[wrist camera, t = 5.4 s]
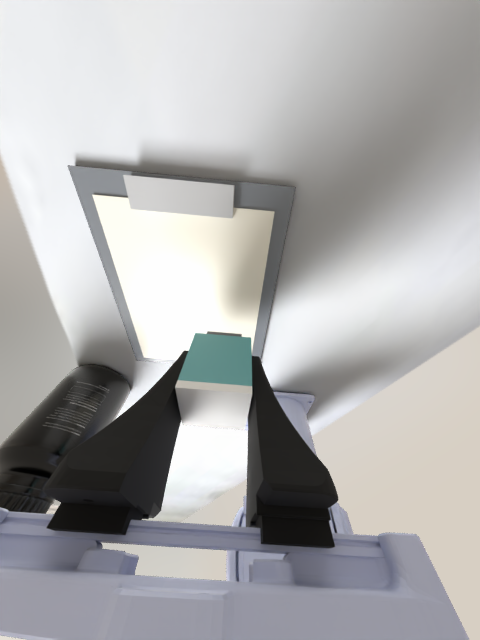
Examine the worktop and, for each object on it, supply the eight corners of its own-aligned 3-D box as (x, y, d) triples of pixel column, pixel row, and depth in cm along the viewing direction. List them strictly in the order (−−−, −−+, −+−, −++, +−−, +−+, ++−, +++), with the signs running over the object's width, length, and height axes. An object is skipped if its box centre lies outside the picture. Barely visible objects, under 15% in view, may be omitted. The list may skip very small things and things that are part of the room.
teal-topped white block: (246, 363, 15) (245, 430, 11) (200, 360, 15) (182, 425, 11) (251, 328, 13) (252, 393, 9) (198, 323, 13) (175, 387, 9)
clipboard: (258, 366, 20) (258, 376, 19) (138, 356, 20) (132, 366, 19) (293, 187, 11) (298, 186, 10) (74, 166, 11) (55, 163, 10)
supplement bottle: (60, 370, 22) (-91, 516, 12) (102, 356, 20) (-34, 512, 10) (104, 401, 26) (15, 533, 16) (143, 391, 24) (71, 532, 14)
